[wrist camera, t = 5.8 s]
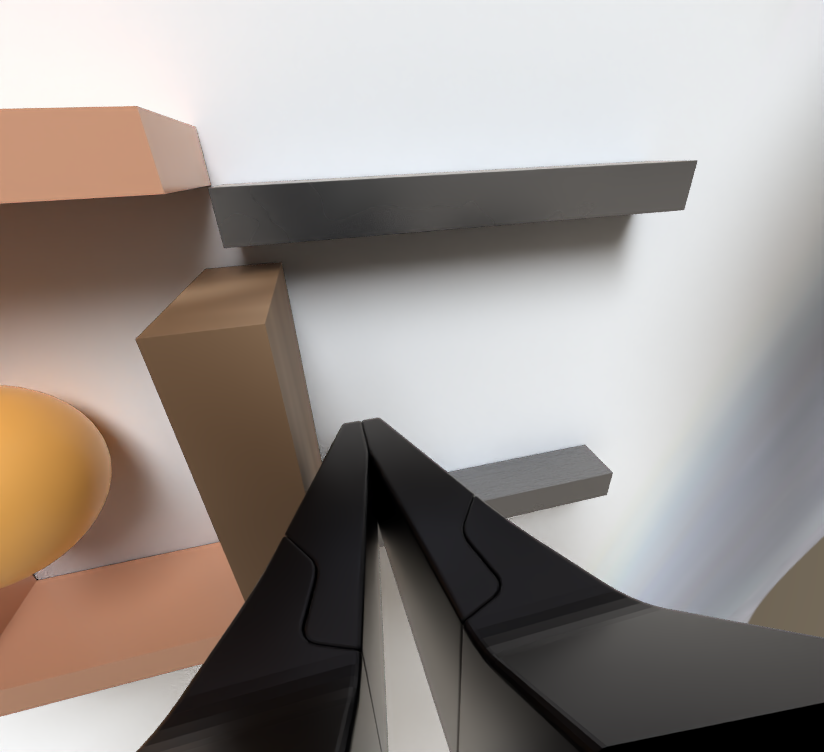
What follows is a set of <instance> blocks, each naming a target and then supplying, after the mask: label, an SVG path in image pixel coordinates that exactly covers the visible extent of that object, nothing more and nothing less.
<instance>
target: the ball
mask: <svg viewBox="0 0 824 752" xmlns="http://www.w3.org/2000/svg"><path fill="white" fill-rule="evenodd" d="M111 477H112V469H111V458H110V453H109V450H108V447H107V445H106V442H105V440H104V438H103V436H102V435H101V433H100V432H99V430H98V429H97V428H96V426H95V425H94V424H93V423H92V422H91V421H90V420H89V419H88V418H87V417H86V416H85V415H84V414H83V413H81V412H80V411H79V410H77V409H76V408H74V407H73V406H71V405H70V404H68V403H66V402H64V401H62V400H60V399H58V398H56V397H53V396H50V395H47V394H45V393H42V392H38V391H34V390H30V389H26V388H21V387H14V386H5V385H0V588H3V587H6V586H9V585H12V584H14V583H16V582H18V581H21V580H23V579H25V578H27V577H29V576H31V575H33V574H34V573H36V572H38V571H40V570H41V569H43V568H45V567H46V566H48V565H49V564H51V563H52V562H54V561H55V560H57V559H58V558H59V557H61V556H62V555H64V554H65V553H66V552H67V551H68V550H69V549H70V548H72V547H73V546H74V545H75V544H76V543H77V542H78V541H79V540H80V539H81V538H82V536H83V535H84V534H85V533H86V532H87V531H88V530H89V528H90V527H91V526H92V524H93V523H94V522H95V520H96V519H97V517H98V515H99V513H100V511H101V510H102V508H103V506H104V504H105V501H106V498H107V495H108V493H109V489H110V483H111Z"/></svg>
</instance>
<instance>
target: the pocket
mask: <svg viewBox="0 0 824 752" xmlns="http://www.w3.org/2000/svg"><path fill="white" fill-rule="evenodd" d="M209 185H211V183H210V179H209V176H208V172H207V168H206V164H205V160H204V157H203V153H202V149H201V145H200V141H199V137H198V134H197V130H196V127H195V126H192V125H189V124H186V123H183V122H180V121H177V120H175V119H172V118H169V117H166V116H163V115H160V114H158V113H155V112H152V111H149V110H146V109H143V108H140V107H138V106H124V107H74V108H23V109H0V204H1V203H18V202H36V201H53V200H70V199H88V198H105V197H123V196H140V195H157V194H168V193H173V192H178V191H183V190H188V189H193V188H198V187H204V186H209ZM244 602H245V601H244V599H243V596H242V594H241V591H240V589H239V587H238V584H237V582H236V579H235V577H234V575H233V572H232V570H231V567H230V565H229V563H228V560H227V558H226V555H225V553H224V551H223V548H222V546H221V543H220V542H217V543H212V544H208V545H203V546H198V547H193V548H189V549H184V550H179V551H174V552H170V553H165V554H160V555H155V556H151V557H146V558H141V559H136V560H132V561H127V562H122V563H117V564H113V565H108V566H103V567H99V568H94V569H89V570H84V571H80V572H75V573H70V574H65V575H61V576H56V577H51V578H46V579H42V580H36V579H35V578H34V577H33V575H31V576H29V577H27V578H25V579H23V580H21V581H18V582H16V583H14V584H12V585H9V586H6V587H3V588H0V717H1V716H5V715H8V714H12V713H16V712H20V711H24V710H27V709H31V708H35V707H39V706H43V705H47V704H50V703H54V702H58V701H62V700H66V699H69V698H73V697H77V696H81V695H85V694H89V693H92V692H96V691H100V690H104V689H108V688H111V687H115V686H119V685H123V684H127V683H131V682H134V681H138V680H142V679H146V678H150V677H153V676H157V675H161V674H165V673H169V672H173V671H176V670H180V669H184V668H188V667H192V666H195V665H199V664H203V663H204V662H205V660H206V659H207V657H208V656H209V654H210V653H211V651H212V650H213V649H214V647H215V646H216V644H217V643H218V641H219V640H220V638H221V637H222V635H223V634H224V632H225V631H226V629H227V628H228V627H229V625H230V624H231V622H232V621H233V619H234V618H235V616H236V615H237V613H238V612H239V610H240V609H241V607H242V606H243V604H244Z"/></svg>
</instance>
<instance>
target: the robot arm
mask: <svg viewBox="0 0 824 752" xmlns="http://www.w3.org/2000/svg"><path fill="white" fill-rule="evenodd" d="M378 526H379V529H380V533H381V536H382V539H383V542H384V545H385V548H386V552H387V555H388V558H389V561H390V564H391V567H392V570H393V574H394V577H395V580H396V583H397V586H398V589H399V593H400V596H401V599H402V602H403V605H404V608H405V611H406V615H407V618H408V621H409V624H410V627H411V630H412V634H413V637H414V640H415V643H416V646H417V649H418V652H419V656H420V659H421V662H422V665H423V668H424V671H425V675H426V678H427V681H428V684H429V687H430V690H431V693H432V697H433V700H434V703H435V706H436V709H437V712H438V716H439V719H440V722H441V725H442V728H443V731H444V734H445V738H446V741H447V744H448V747H449V750H450V752H824V638H822V637H816V636H811V635H806V634H800V633H795V632H790V631H784V630H779V629H773V628H768V627H763V626H757V625H752V624H747V623H741V622H736V621H731V620H725V619H720V618H714V617H709V616H704V615H698V614H693V613H688V612H682V611H677V610H672V609H666V608H662V607H657V606H654V605H650V604H647V603H644V602H642V601H639V600H637V599H634V598H632V597H630V596H628V595H626V594H624V593H622V592H620V591H618V590H616V589H614V588H613V587H611V586H609V585H607V584H606V583H604V582H603V581H601V580H599V579H598V578H596V577H595V576H593V575H592V574H590V573H588V572H587V571H585V570H584V569H582V568H581V567H579V566H578V565H576V564H574V563H573V562H571V561H570V560H568V559H567V558H565V557H563V556H562V555H560V554H559V553H557V552H556V551H554V550H552V549H551V548H549V547H548V546H546V545H545V544H543V543H542V542H540V541H538V540H537V539H535V538H534V537H532V536H531V535H529V534H528V533H526V532H525V531H524V530H522V529H521V528H519V527H518V526H516V525H515V524H513V523H512V522H510V521H509V520H508V519H506V518H505V517H504V516H502V515H501V514H500V513H498V512H497V511H496V510H494V509H493V508H492V507H490V506H489V505H488V504H487V503H485V502H484V501H483V500H482V499H480V498H479V497H478V496H475V495H474V493H473V492H472V491H470V490H469V489H468V488H467V487H465V486H464V485H463V484H462V483H460V482H459V481H458V480H457V479H455V478H454V477H453V476H452V475H450V474H449V473H448V472H447V471H445V470H444V469H443V468H442V467H440V466H439V465H438V464H437V463H435V462H434V461H433V460H432V459H430V458H429V457H428V456H427V455H425V454H424V453H423V452H422V451H421V450H419V449H418V448H417V447H416V446H414V445H413V444H412V443H411V442H409V441H408V440H407V439H406V438H404V437H403V436H402V435H401V434H399V433H398V432H397V431H396V430H394V429H393V428H392V427H391V426H389V425H388V424H387V423H386V422H384V421H383V420H382V419H381V418H373V419H367V420H363V421H362V422H361V421H355V422H349V423H344V424H343V425H342V426H341V428H340V430H339V432H338V434H337V436H336V438H335V440H334V441H333V443H332V445H331V447H330V449H329V451H328V453H327V455H326V457H325V458H324V460H323V462H322V464H321V466H320V468H319V470H318V472H317V474H316V475H315V477H314V479H313V481H312V483H311V485H310V487H309V489H308V491H307V492H306V494H305V496H304V498H303V500H302V502H301V504H300V506H299V508H298V509H297V511H296V513H295V515H294V517H293V519H292V521H291V523H290V525H289V526H288V528H287V530H286V532H285V534H284V536H285V537H283V538H282V539H281V541H280V543H279V545H278V547H277V549H276V551H275V553H274V555H273V556H272V558H271V560H270V562H269V563H268V565H267V567H266V569H265V570H264V572H263V574H262V576H261V577H260V579H259V581H258V582H257V584H256V586H255V587H254V589H253V590H252V592H251V593H250V595H249V596H248V598H247V599H246V601H245V602H244V604H243V606H242V607H241V609H240V610H239V612H238V613H237V615H236V616H235V618H234V619H233V621H232V622H231V624H230V625H229V627H228V628H227V629H226V631H225V632H224V634H223V635H222V637H221V638H220V640H219V641H218V643H217V644H216V646H215V647H214V649H213V650H212V651H211V653H210V654H209V656H208V657H207V659H206V660H205V662H204V663H203V665H202V666H201V668H200V669H199V671H198V672H197V674H196V675H195V676H194V678H193V679H192V681H191V682H190V684H189V685H188V687H187V688H186V690H185V691H184V693H183V694H182V696H181V697H180V699H179V700H178V701H177V703H176V704H175V706H174V707H173V708H172V710H171V711H170V713H169V714H168V715H167V717H166V718H165V719H164V720H163V722H162V723H161V724H160V725H159V727H158V728H157V729H156V730H155V732H154V733H153V734H152V735H151V736H150V737H149V738H148V739H147V741H146V742H145V743H144V744H143V745H142V746H141V747H140V748H139V749H138V750H137V751H136V752H388V733H387V711H386V689H385V667H384V645H383V624H382V602H381V580H380V558H379V536H378Z"/></svg>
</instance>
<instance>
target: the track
mask: <svg viewBox="0 0 824 752" xmlns="http://www.w3.org/2000/svg"><path fill="white" fill-rule="evenodd" d="M696 164H697V160H695V161H641V162H623V163H605V164H587V165H568V166H550V167H532V168H514V169H495V170H477V171H459V172H440V173H422V174H404V175H386V176H367V177H349V178H331V179H313V180H294V181H276V182H258V183H240V184H223V185H219V186H214V187H209V188H208V190H209V194H210V198H211V201H212V205H213V209H214V213H215V216H216V220H217V224H218V228H219V231H220V235H221V239H222V243H223V246H224V248H230V247H242V246H255V245H267V244H279V243H291V242H303V241H315V240H327V239H339V238H351V237H364V236H376V235H388V234H400V233H412V232H424V231H436V230H448V229H460V228H472V227H485V226H497V225H509V224H521V223H533V222H545V221H557V220H569V219H581V218H593V217H606V216H618V215H630V214H642V213H654V212H666V211H678V210H684V208H685V205H686V201H687V197H688V194H689V190H690V186H691V183H692V179H693V175H694V171H695V168H696ZM448 473H449V474H450V475H452V476H453V477H454V478H455V479H457V480H458V481H459V482H460V483H462V484H463V485H464V486H465V487H467V488H468V489H469V490H470V491H472V492H473V493H474V495H475V496H478V497H479V498H480V499H482V500H483V501H484V502H485V503H487V504H488V505H489V506H490V507H492V508H493V509H494V510H496V511H497V512H498V513H500V514H501V515H502V516H504V517H505V518H508V517H512V516H517V515H521V514H525V513H530V512H534V511H538V510H543V509H547V508H552V507H556V506H560V505H565V504H569V503H573V502H578V501H582V500H586V499H591V498H595V497H600V496H604V495H607V492H608V489H609V485H610V481H611V478H612V474H613V472H612V471H611V470H610V469H609V468H608V467H607V466H606V465H605V464H604V463H603V462H602V461H601V460H600V459H599V458H598V457H597V456H596V455H595V454H594V453H593V452H592V451H591V450H590V449H589V448H588V447H587V446H586V445H582V446H577V447H572V448H567V449H562V450H557V451H552V452H547V453H542V454H537V455H532V456H527V457H522V458H517V459H512V460H507V461H502V462H497V463H492V464H487V465H482V466H477V467H472V468H467V469H462V470H457V471H452V472H448ZM378 536H379V547H381V546H385V545H384V542H383V539H382V536H381V533H380V529H379V526H378Z"/></svg>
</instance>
